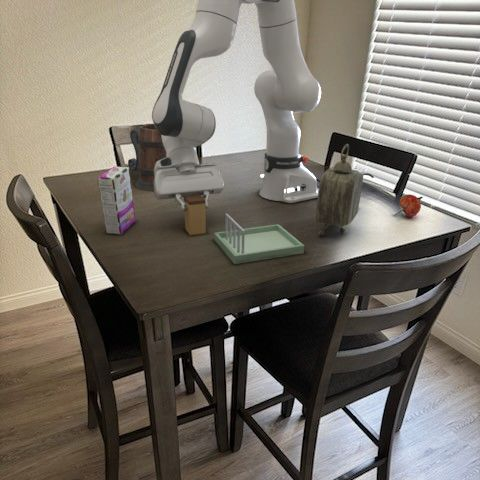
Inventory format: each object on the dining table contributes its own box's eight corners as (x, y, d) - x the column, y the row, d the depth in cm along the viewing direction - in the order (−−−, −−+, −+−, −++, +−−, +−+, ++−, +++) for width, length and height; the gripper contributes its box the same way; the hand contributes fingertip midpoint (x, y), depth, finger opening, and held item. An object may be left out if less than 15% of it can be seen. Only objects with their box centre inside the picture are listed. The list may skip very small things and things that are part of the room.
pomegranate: (400, 227, 152) (430, 210, 149) (389, 207, 150) (419, 190, 147) (397, 221, 159) (426, 204, 155) (387, 202, 157) (415, 185, 153)
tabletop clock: (327, 221, 149) (338, 137, 136) (356, 226, 146) (370, 141, 132) (313, 237, 138) (323, 148, 125) (343, 243, 135) (357, 152, 121)
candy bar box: (120, 219, 147) (113, 165, 138) (135, 221, 146) (130, 166, 137) (104, 233, 137) (96, 176, 129) (121, 235, 137) (113, 178, 128)
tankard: (190, 182, 179) (188, 126, 168) (157, 193, 168) (152, 133, 157) (147, 170, 191) (143, 117, 180) (114, 180, 180) (107, 123, 169)
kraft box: (200, 227, 143) (200, 194, 138) (206, 233, 139) (205, 199, 134) (185, 229, 141) (183, 196, 136) (189, 235, 138) (188, 201, 132)
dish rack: (277, 231, 142) (279, 204, 137) (303, 253, 129) (306, 224, 125) (214, 240, 135) (213, 212, 131) (234, 264, 123) (235, 234, 118)
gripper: (215, 168, 145) (226, 209, 143) (148, 173, 138) (159, 217, 136) (220, 156, 139) (231, 200, 137) (150, 162, 132) (161, 207, 130)
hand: (195, 209), depth 136 cm, fingers closed on kraft box, 5 cm apart
